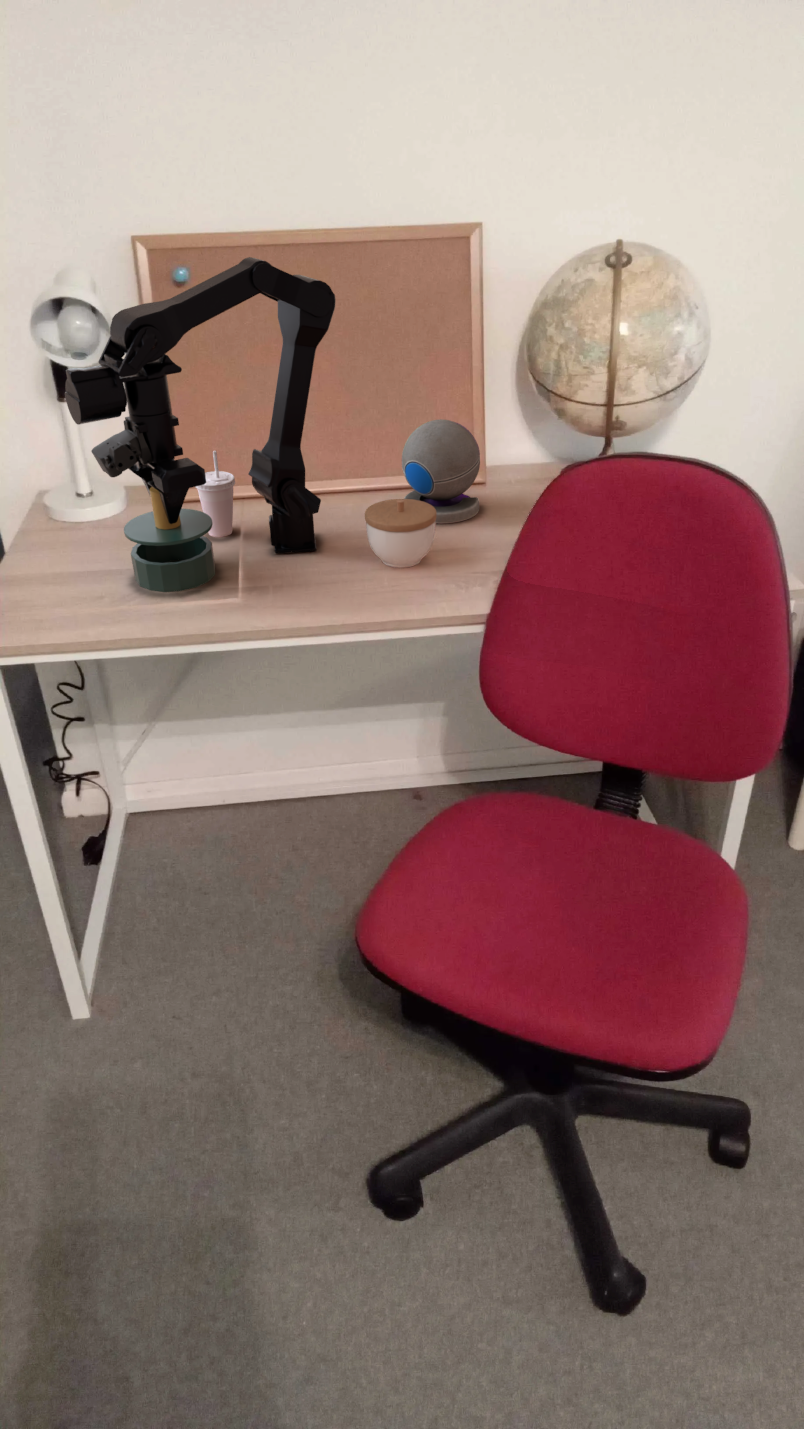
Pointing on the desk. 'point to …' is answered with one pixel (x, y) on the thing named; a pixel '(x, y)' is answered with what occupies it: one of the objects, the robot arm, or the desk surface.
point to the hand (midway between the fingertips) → (167, 518)
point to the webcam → (442, 469)
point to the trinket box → (400, 530)
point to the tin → (173, 565)
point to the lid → (166, 525)
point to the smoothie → (218, 500)
